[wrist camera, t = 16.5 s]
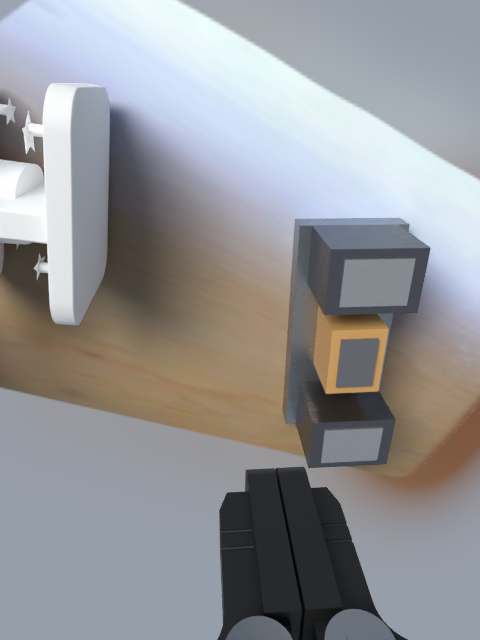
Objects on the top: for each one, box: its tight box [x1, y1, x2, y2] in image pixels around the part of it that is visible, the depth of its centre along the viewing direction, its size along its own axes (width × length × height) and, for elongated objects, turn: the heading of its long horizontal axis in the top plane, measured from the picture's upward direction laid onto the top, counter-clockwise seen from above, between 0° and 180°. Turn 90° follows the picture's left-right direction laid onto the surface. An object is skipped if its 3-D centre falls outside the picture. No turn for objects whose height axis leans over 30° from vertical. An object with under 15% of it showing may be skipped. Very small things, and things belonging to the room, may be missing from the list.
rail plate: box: [283, 218, 430, 468], centre depth 40 cm, size 9×20×8 cm, turn 0°
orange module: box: [314, 306, 389, 394], centre depth 39 cm, size 6×4×5 cm
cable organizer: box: [0, 83, 110, 326], centre depth 30 cm, size 15×11×12 cm
